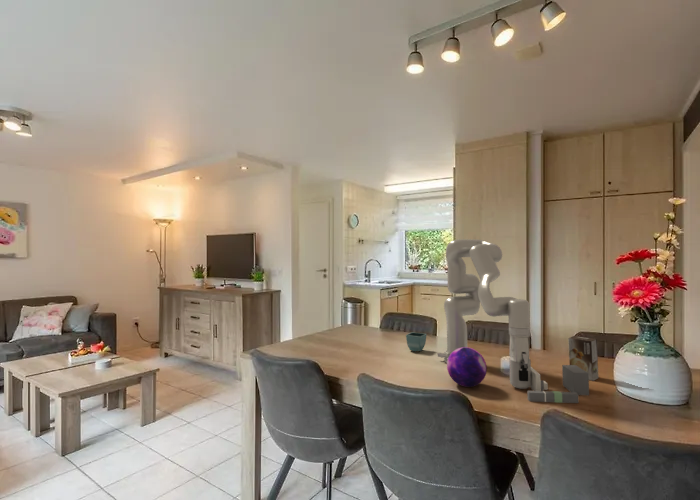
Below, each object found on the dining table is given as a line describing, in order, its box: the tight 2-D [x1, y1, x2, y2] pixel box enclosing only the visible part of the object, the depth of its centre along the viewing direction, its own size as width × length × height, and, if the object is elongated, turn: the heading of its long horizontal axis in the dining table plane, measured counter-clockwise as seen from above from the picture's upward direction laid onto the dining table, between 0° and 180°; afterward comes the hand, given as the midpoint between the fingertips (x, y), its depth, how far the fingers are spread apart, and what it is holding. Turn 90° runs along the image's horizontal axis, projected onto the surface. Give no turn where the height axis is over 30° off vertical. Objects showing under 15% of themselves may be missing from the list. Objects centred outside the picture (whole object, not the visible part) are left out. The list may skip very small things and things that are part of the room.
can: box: [509, 355, 532, 390], centre depth 143 cm, size 8×8×12 cm
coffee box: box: [568, 335, 599, 381], centre depth 155 cm, size 9×6×16 cm
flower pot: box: [405, 331, 427, 352], centre depth 203 cm, size 9×9×9 cm
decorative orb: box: [446, 346, 487, 388], centre depth 147 cm, size 15×15×15 cm
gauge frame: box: [526, 364, 590, 404], centre depth 137 cm, size 23×18×8 cm
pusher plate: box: [529, 366, 549, 391], centre depth 140 cm, size 6×16×7 cm, turn 172°
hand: (520, 377), depth 143 cm, fingers closed on can, 7 cm apart
